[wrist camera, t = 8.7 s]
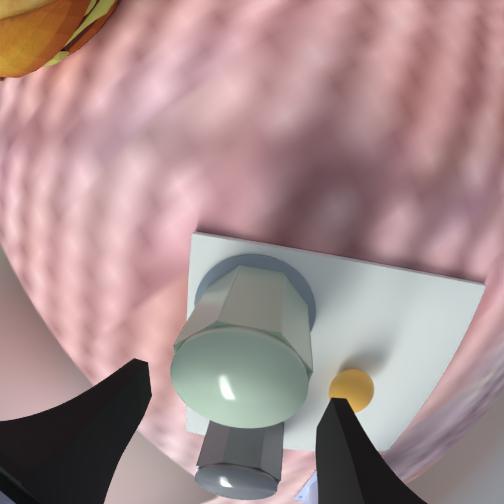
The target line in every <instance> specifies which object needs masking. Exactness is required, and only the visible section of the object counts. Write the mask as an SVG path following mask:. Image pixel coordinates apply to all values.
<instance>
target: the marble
mask: <svg viewBox="0 0 504 504" xmlns="http://www.w3.org/2000/svg"><path fill="white" fill-rule="evenodd" d="M328 396H329V400H331V397H334V398H346V399H347V400H348V402H349V404H350V406H351V407H352V409H353V411H354V413H357V412H360V411H361V410H363V409H365V408H366V407H367V406H368V405H369V404H370V402H371V401H372V399H373V396H374V383H373V381H372V379H371V377H370V376H369V375H368V374H367V373H365V372H364V371H362V370H359V369H348V370H345V371H342V372H341V373H339V374H338V375H336V376H335V378H334V379H333V380H332V382H331V384H330V386H329V391H328Z"/></svg>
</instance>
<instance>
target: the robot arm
mask: <svg viewBox="0 0 504 504" xmlns="http://www.w3.org/2000/svg"><path fill="white" fill-rule="evenodd" d="M151 396H152V393H151V385H150V376H149V367H148V362H145V361H142V360H138V359H135V358H134V359H132V360H131V361H130V362H128V363H127V364H125V365H124V366H123V367H121V368H120V369H118V370H117V371H116V372H114V373H113V374H111V375H110V376H109V377H107V378H106V379H104V380H103V381H101V382H100V383H98V384H97V385H95V386H94V387H92V388H90V389H89V390H87V391H85V392H84V393H82V394H80V395H79V396H77V397H75V398H73V399H71V400H69V401H67V402H65V403H63V404H61V405H59V406H57V407H54V408H51V409H49V410H46V411H43V412H40V413H37V414H34V415H31V416H27V417H23V418H19V419H14V420H8V421H0V504H104V501H105V497H106V494H107V491H108V488H109V485H110V483H111V480H112V477H113V474H114V472H115V469H116V467H117V464H118V462H119V460H120V458H121V456H122V454H123V452H124V450H125V449H126V446H127V445H128V443H129V441H130V440H131V438H132V436H133V434H134V433H135V431H136V429H137V427H138V425H139V424H140V422H141V420H142V418H143V416H144V414H145V412H146V409H147V407H148V404H149V402H150V399H151ZM315 453H316V468H317V470H316V471H315V472H314V473H313V475H312V476H311V477H310V479H309V480H308V481H307V483H306V484H305V485H304V486H303V488H302V489H301V490H300V491H299V493H298V494H297V495H296V496H295V500H296V501H302V504H427V503H426V502H424V501H423V500H422V499H421V498H419V497H418V496H417V495H416V494H415V493H414V492H413V491H412V490H410V489H409V488H408V487H407V486H406V485H405V484H404V483H403V482H402V481H401V480H400V479H399V478H398V477H397V476H396V474H395V473H394V472H393V471H392V470H391V469H390V467H389V466H388V465H387V464H386V462H385V461H384V460H383V458H382V457H381V455H380V454H379V453H378V451H377V450H376V448H375V447H374V445H373V444H372V442H371V440H370V439H369V437H368V436H367V434H366V432H365V431H364V429H363V427H362V426H361V424H360V422H359V420H358V418H357V417H356V415H355V413H354V411H353V409H352V407H351V406H350V404H349V402H348V400H347V399H346V398H334V397H331V400H330V402H329V404H328V406H327V408H326V410H325V412H324V414H323V416H322V418H321V420H320V422H319V424H318V426H317V428H316V445H315Z"/></svg>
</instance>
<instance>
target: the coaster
mask: <svg viewBox="0 0 504 504" xmlns="http://www.w3.org/2000/svg"><path fill="white" fill-rule="evenodd" d="M239 265H243V266H248V267H254V268H259V269H265V270H271V271H276V272H282V273H284V274H285V276H286V277H287V278H288V280H289V281H290V282H291V284H292V285H293V286H294V288H295V289H296V290H297V292H298V293H299V294H300V296H301V297H302V299H303V300H304V301H305V303H306V304H307V306H308V316H309V326H310V332H311V331H312V328H313V326H314V322H315V317H316V306H315V300H314V296H313V293H312V290H311V288H310V286H309V284H308V283H307V281H306V280H305V279H304V277H303V276H302V275H301V274H300V273H299V272H298V271H297V270H296V269H295V268H293V267H292V266H290V265H289V264H287V263H285V262H283V261H281V260H279V259H276V258H274V257H270V256H266V255H259V254H244V255H238V256H234V257H231V258H228V259H226V260H223V261H222V262H220V263H218V264H217V265H215V266H214V267H213V268H212V269H210V270H209V272H208V273H207V274H206V275H205V276H204V278H203V279H202V281H201V282H200V284H199V286H198V288H197V291H196V295H195V301H194V308H195V307H196V305H197V303H198V301H199V300H200V298H201V296H202V295H203V293H204V291H205V289H206V288H207V286H209V285H211V284H212V283H214V282H215V281H217V280H218V279H220V278H221V277H223V276H224V275H226V274H227V273H229V272H230V271H232V270H233V269H235V268H236V267H238V266H239Z"/></svg>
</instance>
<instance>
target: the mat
mask: <svg viewBox="0 0 504 504" xmlns="http://www.w3.org/2000/svg"><path fill="white" fill-rule="evenodd" d="M244 254H259V255H266V256H270V257H274V258H276V259H279V260H281V261H283V262H285V263H287V264H289V265H290V266H292V267H293V268H295V269H296V270H297V271H298V272H299V273H300V274H301V275H302V276H303V277H304V279H305V280H306V281H307V283H308V284H309V286H310V288H311V290H312V293H313V296H314V300H315V306H316V317H315V322H314V326H313V328H312V331H311V332H310V336H311V347H312V358H313V371H314V372H313V373H312V376H311V378H310V381H309V384H308V394H307V397H306V400H305V402H304V404H303V405H302V407H301V408H300V409H299V410H298V411H297V412H296V413H295V414H294V415H293V416H291V417H290V418H288V419H286V420H285V421H283V422H284V440H283V449H291V450H302V451H315V445H316V428H317V426H318V424H319V422H320V420H321V418H322V416H323V414H324V412H325V410H326V408H327V406H328V404H329V402H330V400H329V396H328V391H329V386H330V384H331V382H332V380H333V379H334V378H335V376H336V375H338V374H339V373H341V372H342V371H345V370H348V369H359V370H362V371H364V372H365V373H367V374H368V375H369V376H370V377H371V379H372V381H373V383H374V396H373V399H372V401H371V402H370V404H369V405H368V406H367V407H366V408H365V409H363V410H361V411H360V412H357V413H355V415H356V417H357V418H358V420H359V422H360V424H361V426H362V427H363V429H364V431H365V432H366V434H367V436H368V437H369V439H370V440H371V442H372V444H373V445H374V447H375V448H376V450H377V451H378V452H379V451H388V450H389V449H390V447H391V446H392V445H393V444H394V443H395V441H396V440H397V439H398V438H399V436H400V435H401V434H402V433H403V431H404V430H405V429H406V428H407V426H408V425H409V424H410V422H411V421H412V420H413V418H414V417H415V416H416V414H417V413H418V411H419V410H420V409H421V407H422V406H423V404H424V403H425V401H426V400H427V398H428V397H429V395H430V394H431V392H432V391H433V389H434V388H435V386H436V385H437V383H438V381H439V380H440V378H441V376H442V375H443V373H444V371H445V370H446V368H447V366H448V365H449V363H450V361H451V359H452V358H453V356H454V354H455V352H456V350H457V348H458V346H459V345H460V343H461V341H462V339H463V337H464V335H465V333H466V331H467V329H468V326H469V324H470V322H471V320H472V318H473V316H474V313H475V311H476V309H477V307H478V304H479V302H480V299H481V297H482V295H483V292H484V289H485V287H486V286H485V285H484V284H483V283H480V282H475V281H470V280H464V279H459V278H454V277H449V276H444V275H439V274H433V273H428V272H423V271H417V270H412V269H407V268H401V267H396V266H391V265H385V264H380V263H374V262H369V261H364V260H358V259H353V258H347V257H341V256H336V255H330V254H325V253H319V252H313V251H308V250H302V249H296V248H291V247H285V246H279V245H273V244H268V243H262V242H256V241H250V240H244V239H238V238H232V237H227V236H221V235H215V234H209V233H203V232H197V231H194V232H193V233H192V238H191V251H190V266H189V283H188V304H187V320H188V319H189V317H190V315H191V314H192V312H193V310H194V301H195V295H196V291H197V288H198V286H199V284H200V282H201V281H202V279H203V278H204V276H205V275H206V274H207V273H208V272H209V270H210V269H212V268H213V267H214V266H215V265H217V264H218V263H220V262H222V261H223V260H226V259H228V258H231V257H234V256H238V255H244ZM209 422H210V420H209V419H207V418H205V417H203V416H201V415H199V414H198V413H196V412H195V411H193V410H192V409H191V408H190V407H189V406H187V405H186V426H187V431H189V432H192V433H196V434H201V435H206V432H207V428H208V425H209Z"/></svg>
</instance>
